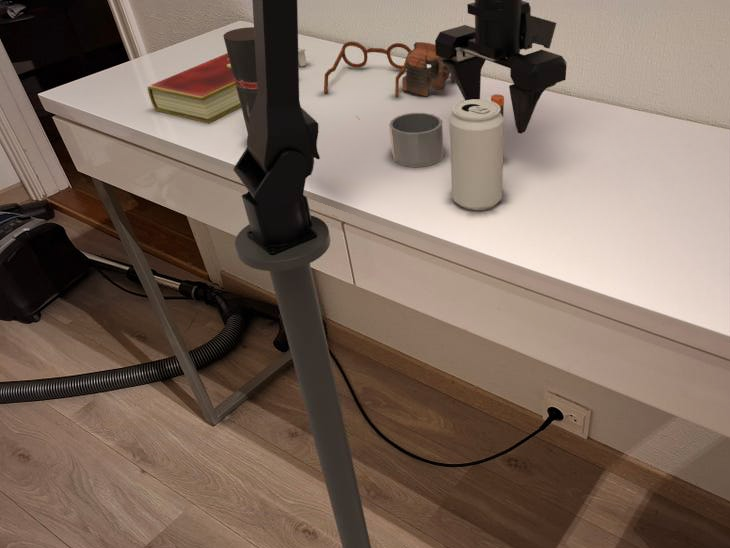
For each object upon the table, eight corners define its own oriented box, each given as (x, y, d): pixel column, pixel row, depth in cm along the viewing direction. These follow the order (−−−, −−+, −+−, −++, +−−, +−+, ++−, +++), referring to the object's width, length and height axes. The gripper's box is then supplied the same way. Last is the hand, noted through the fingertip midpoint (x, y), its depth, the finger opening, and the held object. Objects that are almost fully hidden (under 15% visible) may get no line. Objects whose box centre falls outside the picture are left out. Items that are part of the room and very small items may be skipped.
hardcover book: (154, 110, 110) (145, 84, 107) (243, 70, 123) (237, 46, 121) (208, 123, 105) (201, 96, 103) (294, 80, 119) (290, 55, 116)
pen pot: (413, 172, 92) (411, 138, 89) (383, 155, 96) (379, 122, 93) (453, 156, 96) (452, 123, 92) (422, 140, 100) (420, 108, 96)
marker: (496, 165, 93) (497, 100, 87) (488, 161, 94) (488, 96, 88) (505, 161, 94) (506, 96, 88) (497, 157, 95) (497, 93, 89)
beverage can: (474, 184, 89) (472, 93, 81) (512, 198, 86) (514, 105, 78) (442, 202, 86) (437, 109, 78) (481, 218, 82) (480, 123, 74)
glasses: (414, 71, 122) (412, 41, 119) (397, 97, 112) (395, 66, 109) (345, 68, 124) (341, 39, 120) (322, 94, 114) (317, 63, 111)
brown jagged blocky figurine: (389, 89, 117) (400, 39, 115) (436, 104, 122) (447, 57, 120) (420, 91, 107) (432, 37, 105) (469, 108, 113) (482, 56, 111)
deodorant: (271, 153, 97) (245, 43, 87) (241, 144, 99) (213, 36, 89) (299, 138, 101) (278, 31, 91) (270, 130, 103) (246, 25, 93)
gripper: (602, -4, 79) (589, 126, 89) (494, -30, 89) (494, 89, 100) (536, 15, 73) (530, 151, 84) (429, -15, 84) (436, 109, 94)
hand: (497, 122), depth 91 cm, fingers open, 9 cm apart
